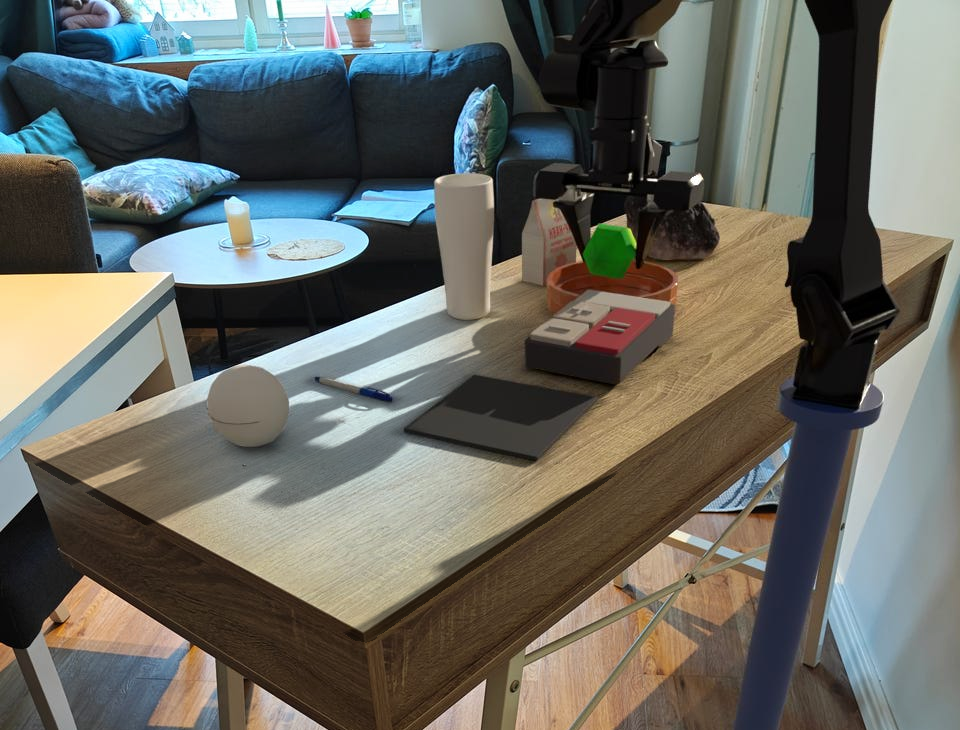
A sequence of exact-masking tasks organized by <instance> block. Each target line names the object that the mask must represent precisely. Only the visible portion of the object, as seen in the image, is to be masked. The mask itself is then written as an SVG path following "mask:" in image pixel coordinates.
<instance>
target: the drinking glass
mask: <svg viewBox="0 0 960 730" xmlns="http://www.w3.org/2000/svg"><path fill="white" fill-rule="evenodd" d="M433 184H434V185H433V187H434V188H433V193H434V215H435V225H436V233H437V234H436V235H437V240H438V247H439V253H440V254H439V255H440V262H441V270H442V276H443V282H444V283H443V284H444V293H445V303H446V304H445V305H446V312H447V314H448V315H449V316H450V317H451V318H453V319H455V320H460V321H462V320H463V321H471V320H479V319H482V318H484V317H486V316H487V315H489V313H490V311H491V281H492V265H493V264H492V263H493V248H494V246H493V245H494V229H495V228H494V227H495V196H494V195H495V194H494V179H493V177H492V176H490V175H487V174H482V173H474V172H473V173H472V172H471V173H470V172H469V173H468V172H466V173H465V172H462V173H452V174H446V175H441V176H439V177H437V178H435V180H434V181H433Z"/></svg>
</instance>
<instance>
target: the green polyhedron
mask: <svg viewBox="0 0 960 730" xmlns="http://www.w3.org/2000/svg"><path fill="white" fill-rule="evenodd" d="M592 233H593V234H591V239H590V241H589V243H588V245H587V246H586V248H585V250H584V252H583V257H584V259H585V262H586V264H587V266H588V269H589V271H590V274H594V275H600V276H605V277H612V278H618V279H622V278H623V276H624V274H625V273H626V271H627V269H628V267H629V266H630V264H631V262H632V261H633V260H635V257H636V243H637V242H636V240H635V238H634V237H633V234H632V232H631V229H629V228H627V226H620V225H613V224H607V223H600V222H599V223H598V224H597V225H596V227H595V229H594V231H593V232H592ZM643 265H644V267H645V268H646V266H645V262H644V263H643Z"/></svg>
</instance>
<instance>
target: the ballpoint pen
mask: <svg viewBox="0 0 960 730" xmlns="http://www.w3.org/2000/svg"><path fill="white" fill-rule="evenodd" d="M314 381H315V382H318V383H320V384H323V385H326V386H329V387H334V388H337V389H341V390H343V391H347V392H351V393H355V394H358V395H361V396H364V397H369V398H371V399H374V400H379V401H382V402H386V403H392V402H393V399H394V398H393V396H392V395H391V393H388V392H386V391H384V390H381V389H378V388H373V387H371V386H367V387H366V388H365V387H360V386H356V385H352V384H348V383H345V382H343V381H338V380H334V379H330V378H327V377H324V376H315V377H314Z"/></svg>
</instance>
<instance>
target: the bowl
mask: <svg viewBox="0 0 960 730" xmlns="http://www.w3.org/2000/svg"><path fill="white" fill-rule="evenodd" d="M644 262H645V266H646V268H645V267H644V265H643V266H642V267H641V268H640V269H636V259H633V261H632V262H631V264H630V266H629V267H628V269H627V271H626V273H625V274H624V276H623V278H622V279H618V278H612V277H605V276H600V275H594V274H590V271H589V269H588V266H587V264H586V263H584V262H583V261H582V260H581V261H576V262H574V263H570V264H567V265H564V266H561V267H558V268H556V269H555V270H553V271H552V272H551V273H549V275H548V278H547V285H546V292H545V293H546V295H545V297H546V298H545V299H546V300H545V301H546V302H545V303H546V306H547V308H548V310H549V312H551V313H552V314H553V315H555V314H556V313H557V312H558V311H560V310H561V309H562V308H563V307H565V306H566V305H567V304H568V303H570V302H571V301H574V300H576V299H577V298H578V297H579V296H581V295H582V294H583V293H584V292H586V291H587V290H595V291H601V292H608V293H614V294H621V295H627V296H634V297H641V298H647V299H654V300H660V301H667V302H670V304H674V305H675V306H676V305H677V304H676V303H677V294H678V284H679V275H677V273H675V272H674V271H673V270H672V269H671V268H669V267H665V266H664V265H662V264H657V263H653V262H649V261H644Z"/></svg>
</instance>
